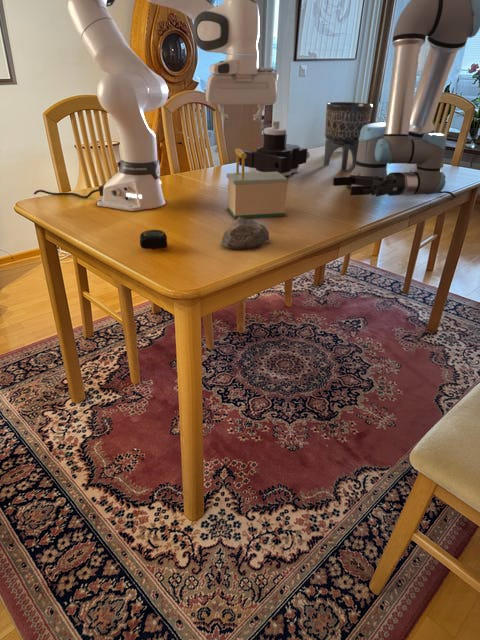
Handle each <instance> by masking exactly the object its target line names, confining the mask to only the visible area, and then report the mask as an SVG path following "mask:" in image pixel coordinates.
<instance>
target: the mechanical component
mask: <svg viewBox="0 0 480 640" xmlns="http://www.w3.org/2000/svg"><path fill="white" fill-rule="evenodd" d="M287 138H288V129H287V128H286V127H280V121H279V120H272V126H271V127H265V128H264V129H263V145H262V146H258V147H257V148H256V151H250V150H245V149H241V151H243V152H244V153H245V154H246V155H247V157H246V158H245V165H244V168H250V169H255V172H279V173H280V174H281V175H283V176H284V177H286V176H291V175H292V173H298V171H299V167H300V165H303V164H304V165H305V164H307V160H309V158H310V156H311V154H310V152H309V151H308V148H304V147H301V146H299V145H297V144H290V143H287ZM239 167H242V158H240V157H239Z"/></svg>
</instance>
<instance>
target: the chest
mask: <svg viewBox="0 0 480 640" xmlns="http://www.w3.org/2000/svg"><path fill="white" fill-rule="evenodd" d="M227 185H228V186H227V189H228V190H227V194H228V195H227V197H228V198H227V210H228V211H229V213H230V214H231V216H232V217H233V219H234V220H237V218H238V217H242V218H245V219H258V218H275V217H286V206H287V205H286V204H287V191H288V181H287V182H286V183H261V184H237V185H234V184H233V183H232V182H231V181H230V180H229V179H228V178H227Z"/></svg>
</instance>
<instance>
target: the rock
mask: <svg viewBox="0 0 480 640" xmlns="http://www.w3.org/2000/svg"><path fill="white" fill-rule="evenodd" d="M269 241H270V233H269V230H268V229H267V228H266V226H265V225H263V224H261V223H259V222H256V221H255V220H252V219H249V218H242V217H238V218H237V219H235V221H234V222H233V223H232V224H231V225H229V226H228V227H227V228H226V229H225V231H224V233H223V236H222V239H221V244H222V247H224V248H229V249H231V250H245V249H254V248H257V247H259V246H260V245H264V244H266V242H269Z"/></svg>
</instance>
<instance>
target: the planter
mask: <svg viewBox="0 0 480 640" xmlns="http://www.w3.org/2000/svg"><path fill="white" fill-rule="evenodd" d="M373 107H374V106H373V104H372V103H367V102H353V101H333V102H327V103H326V109H325V124H324V125H325V126H324V139H325V144H324V156H323V157H324V158H323V165H325V166H328V165H330V163H331V158H332V156H333V154H334V153H335V151H336V149H338V148H340V147H342V151H341V152H342V153H341V166H340V170H341V172H345V171H347V167H348V166H347V165H348V159H349V152H350V154H351V157H352V158H351V159H352V160H351V161H352V166H353V167H355V165H356V158H357V151H358V144H359V136H360V132H361V129H362V127H363V126H365V125H368V124H370V121H371V116H372V112H373Z"/></svg>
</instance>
